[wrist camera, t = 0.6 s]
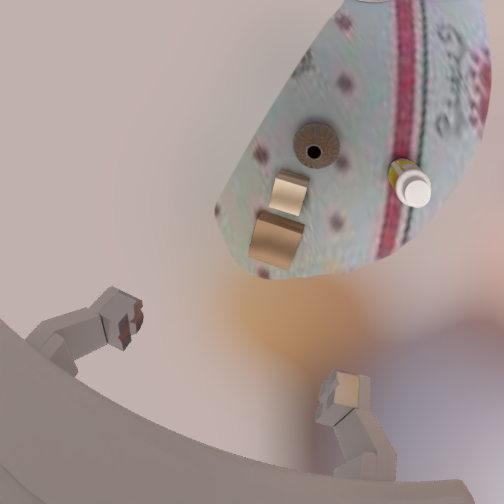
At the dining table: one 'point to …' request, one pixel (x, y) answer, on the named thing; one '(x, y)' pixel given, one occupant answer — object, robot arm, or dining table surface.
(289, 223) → the walnut block
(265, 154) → the dining table surface
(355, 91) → the dining table surface
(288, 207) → the maple cube
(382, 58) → the dining table surface
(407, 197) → the supplement bottle
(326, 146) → the vase
